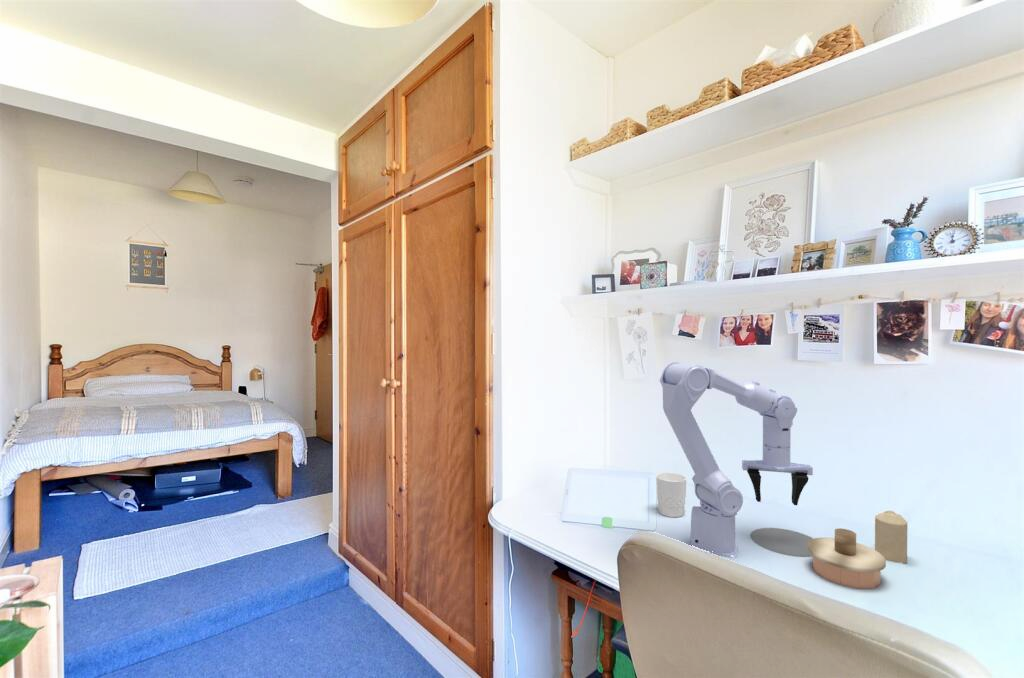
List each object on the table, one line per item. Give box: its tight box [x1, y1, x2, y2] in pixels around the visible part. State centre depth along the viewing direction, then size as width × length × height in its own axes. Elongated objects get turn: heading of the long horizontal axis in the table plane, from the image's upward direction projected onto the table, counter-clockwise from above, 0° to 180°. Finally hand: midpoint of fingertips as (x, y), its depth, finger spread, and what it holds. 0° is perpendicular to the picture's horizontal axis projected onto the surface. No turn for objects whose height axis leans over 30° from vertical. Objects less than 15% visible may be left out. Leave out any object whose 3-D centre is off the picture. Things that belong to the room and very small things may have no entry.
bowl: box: [812, 556, 881, 589], centre depth 96 cm, size 11×11×4 cm
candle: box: [874, 510, 908, 565], centre depth 103 cm, size 6×6×10 cm
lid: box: [808, 528, 887, 572], centre depth 96 cm, size 13×13×5 cm
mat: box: [749, 527, 814, 558], centre depth 110 cm, size 15×15×1 cm
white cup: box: [655, 471, 687, 518], centre depth 129 cm, size 8×8×10 cm
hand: (776, 502), depth 111 cm, fingers open, 7 cm apart
